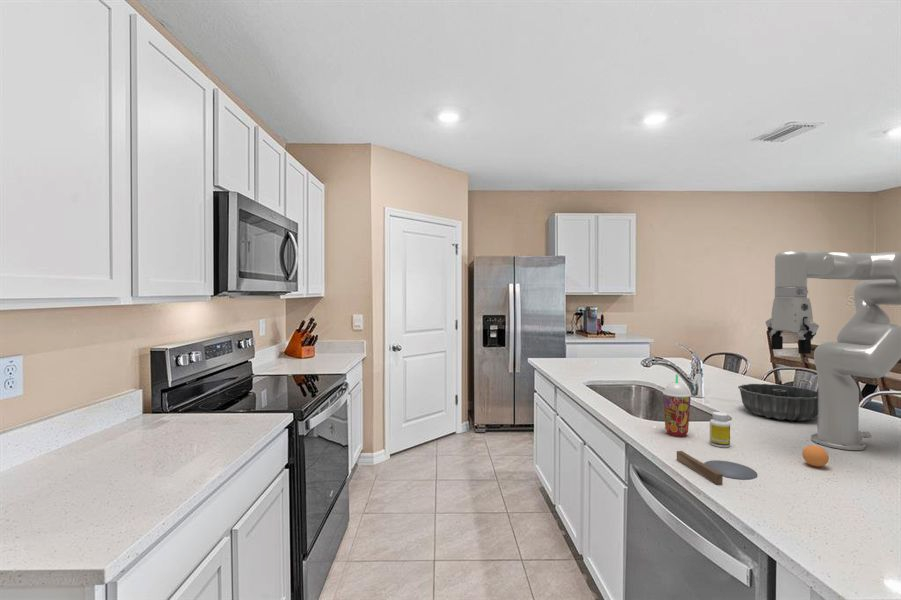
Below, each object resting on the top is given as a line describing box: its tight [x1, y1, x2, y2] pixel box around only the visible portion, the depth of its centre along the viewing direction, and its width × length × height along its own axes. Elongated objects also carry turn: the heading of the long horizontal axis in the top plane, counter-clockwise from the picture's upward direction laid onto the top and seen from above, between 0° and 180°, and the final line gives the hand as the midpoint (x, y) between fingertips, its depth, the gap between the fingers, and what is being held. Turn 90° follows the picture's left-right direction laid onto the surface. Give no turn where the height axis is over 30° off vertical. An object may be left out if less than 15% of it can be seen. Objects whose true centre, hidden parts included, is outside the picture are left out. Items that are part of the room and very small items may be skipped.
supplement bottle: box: [709, 411, 731, 448], centre depth 134 cm, size 5×5×10 cm
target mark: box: [704, 459, 758, 481], centre depth 115 cm, size 12×12×1 cm
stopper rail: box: [676, 450, 723, 486], centre depth 114 cm, size 2×16×2 cm, turn 5°
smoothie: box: [662, 374, 692, 438], centre depth 144 cm, size 8×8×20 cm
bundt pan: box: [737, 383, 818, 422], centre depth 166 cm, size 26×26×10 cm
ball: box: [801, 444, 830, 468], centre depth 117 cm, size 6×6×6 cm
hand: (790, 351), depth 127 cm, fingers open, 9 cm apart
